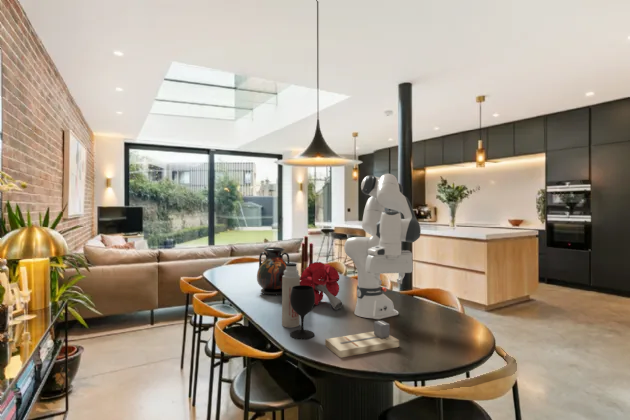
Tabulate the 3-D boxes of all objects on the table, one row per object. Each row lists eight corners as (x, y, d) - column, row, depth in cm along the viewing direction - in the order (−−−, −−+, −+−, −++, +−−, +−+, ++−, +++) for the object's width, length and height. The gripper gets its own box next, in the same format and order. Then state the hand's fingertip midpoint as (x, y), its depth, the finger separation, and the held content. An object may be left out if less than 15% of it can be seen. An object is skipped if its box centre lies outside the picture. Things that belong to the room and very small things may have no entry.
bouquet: (347, 316, 195) (317, 281, 214) (361, 283, 184) (328, 250, 204) (317, 326, 181) (287, 288, 201) (330, 292, 171) (298, 256, 191)
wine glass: (314, 330, 152) (314, 284, 152) (314, 339, 141) (315, 290, 141) (290, 330, 152) (290, 284, 151) (289, 339, 141) (289, 290, 141)
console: (381, 336, 146) (381, 330, 146) (399, 346, 135) (399, 340, 135) (325, 345, 135) (325, 338, 135) (340, 357, 124) (340, 350, 124)
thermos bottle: (301, 326, 156) (301, 264, 156) (283, 328, 154) (284, 265, 154) (297, 321, 164) (297, 261, 164) (280, 322, 162) (281, 262, 162)
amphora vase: (253, 296, 208) (253, 250, 208) (260, 288, 230) (260, 246, 229) (289, 297, 207) (289, 250, 207) (292, 289, 229) (293, 246, 229)
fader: (382, 332, 142) (382, 320, 142) (389, 336, 137) (389, 324, 137) (373, 334, 140) (373, 321, 140) (381, 338, 136) (381, 325, 136)
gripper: (407, 249, 148) (407, 281, 148) (364, 249, 142) (363, 283, 141) (416, 250, 142) (415, 284, 142) (371, 251, 136) (370, 286, 135)
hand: (389, 284), depth 142 cm, fingers open, 8 cm apart
